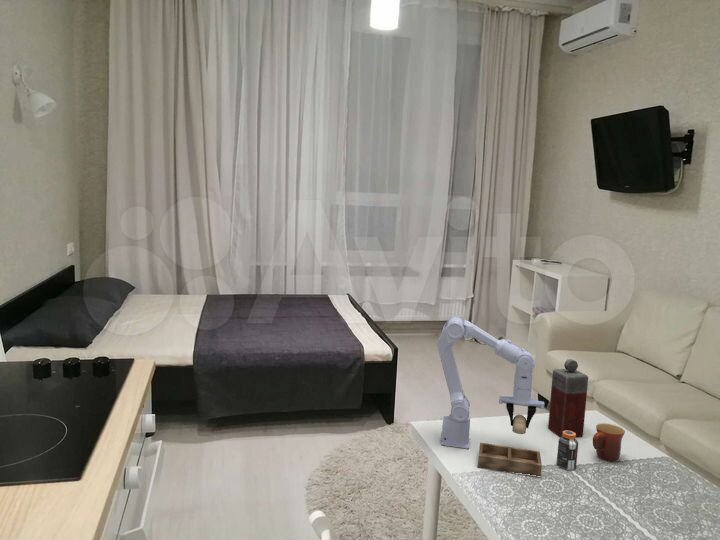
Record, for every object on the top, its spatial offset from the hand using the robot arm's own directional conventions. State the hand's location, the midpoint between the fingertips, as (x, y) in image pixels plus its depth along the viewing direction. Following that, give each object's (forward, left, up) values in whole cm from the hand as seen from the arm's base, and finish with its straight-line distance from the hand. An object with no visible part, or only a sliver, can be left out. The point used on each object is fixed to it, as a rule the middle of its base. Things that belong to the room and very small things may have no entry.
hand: (519, 425), depth 179 cm
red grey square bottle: (+17, +23, -9) cm, 30 cm away
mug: (+28, +4, -9) cm, 30 cm away
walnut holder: (-3, -12, -9) cm, 15 cm away
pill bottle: (+15, -6, -9) cm, 18 cm away
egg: (0, 0, -2) cm, 2 cm away
